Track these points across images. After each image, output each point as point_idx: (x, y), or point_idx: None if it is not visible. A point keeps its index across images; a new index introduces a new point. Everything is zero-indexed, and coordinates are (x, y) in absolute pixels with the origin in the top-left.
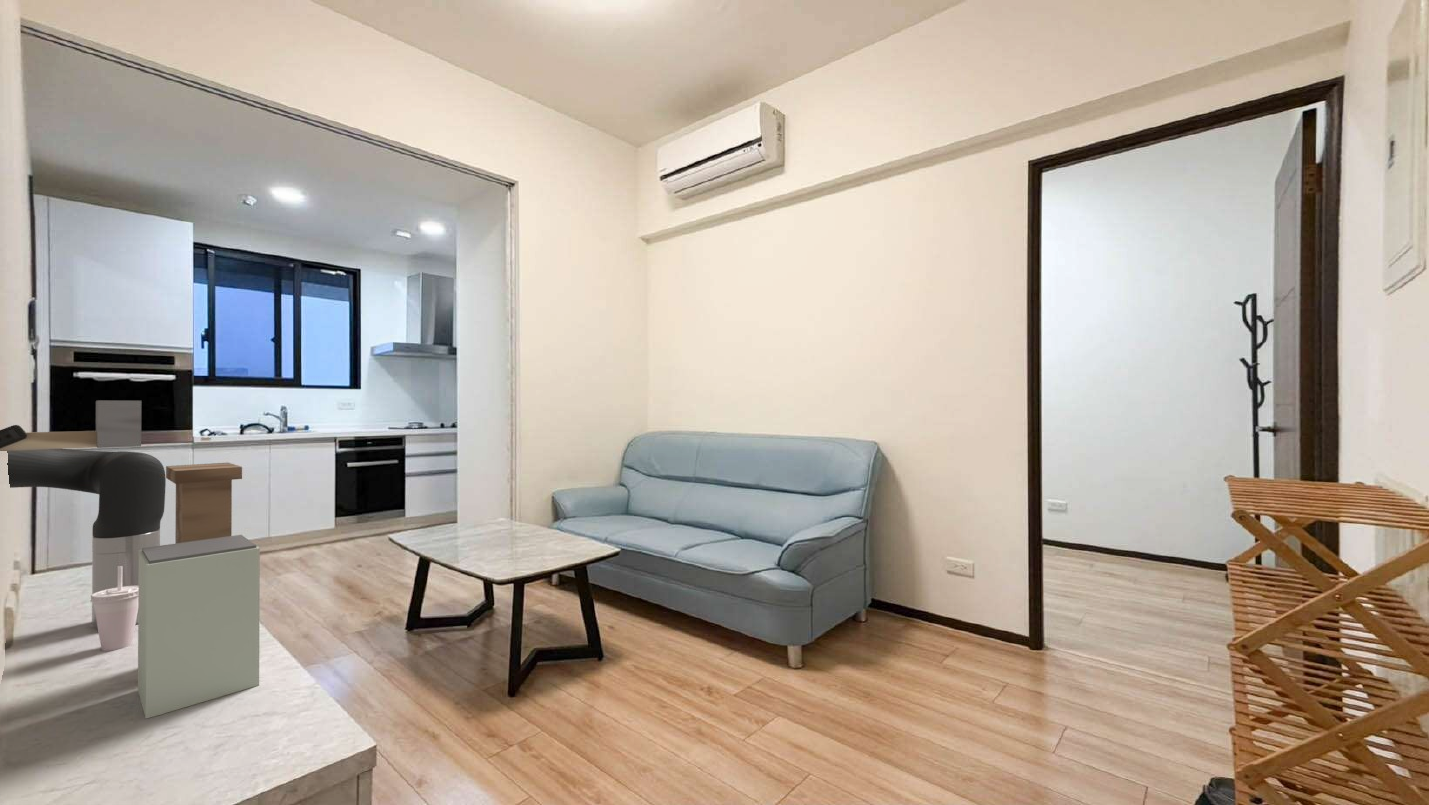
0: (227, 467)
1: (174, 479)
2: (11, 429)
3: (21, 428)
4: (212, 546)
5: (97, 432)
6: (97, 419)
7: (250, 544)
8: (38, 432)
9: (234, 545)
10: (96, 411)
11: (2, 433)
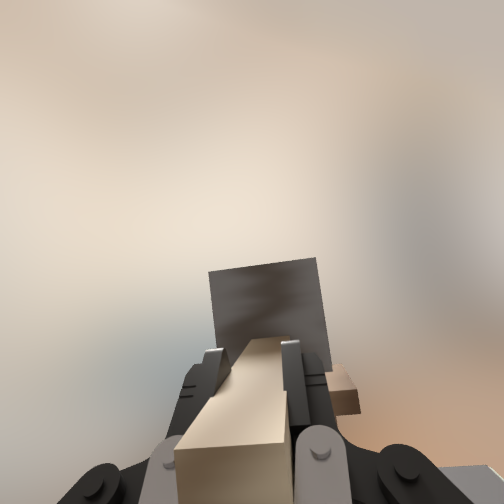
0: (339, 368)
1: (345, 407)
2: (315, 355)
3: (227, 358)
4: (468, 497)
5: (323, 333)
6: (311, 303)
7: (475, 468)
8: (281, 358)
9: (474, 480)
10: (248, 292)
11: (325, 376)
